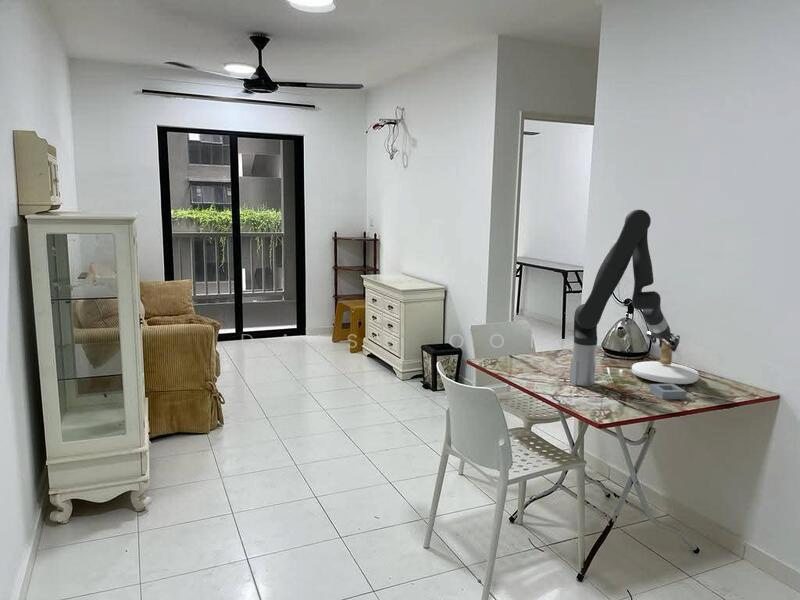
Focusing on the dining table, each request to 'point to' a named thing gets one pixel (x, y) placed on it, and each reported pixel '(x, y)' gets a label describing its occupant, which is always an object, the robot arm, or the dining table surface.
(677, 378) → the plate
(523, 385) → the dining table surface
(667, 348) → the dowel
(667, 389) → the socket block
